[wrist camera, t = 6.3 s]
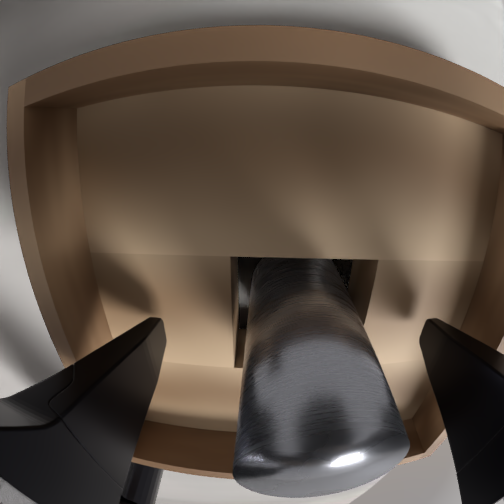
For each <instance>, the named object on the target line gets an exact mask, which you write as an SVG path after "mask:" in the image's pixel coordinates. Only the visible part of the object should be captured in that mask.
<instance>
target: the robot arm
mask: <svg viewBox="0 0 504 504" xmlns="http://www.w3.org/2000/svg"><path fill="white" fill-rule="evenodd" d="M166 343H167V338H166V333H165V328H164V322H163V320H162V319H161V318H158V317H149V318H147V319H146V320H144V321H142V322H141V323H139V324H137V325H136V326H134V327H132V328H131V329H129V330H128V331H126V332H124V333H123V334H121V335H119V336H118V337H116V338H114V339H113V340H111V341H109V342H108V343H106V344H105V345H103V346H101V347H100V348H98V349H96V350H95V351H93V352H91V353H90V354H88V355H86V356H85V357H83V358H82V359H80V360H78V361H77V362H75V363H74V365H73V364H72V365H70V366H68V367H67V368H65V369H63V370H62V371H60V372H58V373H56V374H55V375H53V376H51V377H49V378H47V379H45V380H43V381H41V382H39V383H37V384H35V385H33V386H31V387H29V388H27V389H25V390H23V391H21V392H18V393H16V394H14V395H12V396H10V397H6V398H1V399H0V504H155V501H156V497H157V493H158V489H159V485H160V482H161V478H162V474H163V470H164V469H159V468H154V467H150V466H146V465H142V464H138V463H134V462H131V461H132V458H133V454H134V451H135V448H136V445H137V442H138V439H139V436H140V433H141V430H142V427H143V424H144V421H145V418H146V415H147V412H148V409H149V406H150V403H151V400H152V397H153V394H154V391H155V389H156V385H157V382H158V379H159V374H160V370H161V365H162V361H163V356H164V352H165V348H166ZM419 345H420V348H421V352H422V355H423V359H424V363H425V366H426V370H427V374H428V377H429V380H430V383H431V386H432V389H433V392H434V395H435V398H436V401H437V404H438V407H439V410H440V413H441V416H442V420H443V423H444V426H445V430H446V433H447V437H448V440H449V444H450V448H451V452H452V455H453V460H454V464H455V468H456V472H457V479H458V484H459V489H460V495H461V500H462V504H495V503H496V502H498V501H500V500H501V499H503V500H504V354H502V353H500V352H499V351H497V350H495V349H493V348H491V347H490V346H488V345H486V344H484V343H482V342H481V341H479V340H477V339H475V338H473V337H472V336H470V335H468V334H466V333H464V332H462V331H460V330H459V329H457V328H455V327H453V326H451V325H449V324H447V323H446V322H444V321H442V320H440V319H438V318H429V319H427V320H426V321H425V324H424V326H423V329H422V332H421V334H420V337H419Z"/></svg>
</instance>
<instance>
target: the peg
mask: <svg viewBox="0 0 504 504" xmlns="http://www.w3.org/2000/svg"><path fill="white" fill-rule="evenodd" d="M409 448H410V441H409V438H408V435H407V432H406V430H405V427H404V424H403V421H402V418H401V416H400V413H399V410H398V408H397V405H396V402H395V400H394V397H393V395H392V392H391V389H390V387H389V384H388V382H387V379H386V377H385V375H384V372H383V370H382V367H381V365H380V362H379V360H378V358H377V355H376V353H375V351H374V348H373V346H372V344H371V341H370V339H369V337H368V335H367V332H366V330H365V328H364V326H363V323H362V321H361V319H360V317H359V315H358V313H357V310H356V308H355V306H354V304H353V302H352V300H351V298H350V296H349V293H348V291H347V289H346V287H345V285H344V283H343V281H342V279H341V277H340V275H339V273H338V271H337V269H336V267H335V265H334V263H333V262H332V260H331V259H320V258H275V257H263V258H262V259H261V260H260V262H259V263H258V264H257V266H256V268H255V270H254V272H253V275H252V280H251V291H250V301H249V311H248V321H247V332H246V342H245V352H244V362H243V372H242V382H241V392H240V402H239V412H238V422H237V432H236V442H235V452H234V462H233V472H232V474H233V477H234V479H235V480H236V482H237V483H239V484H240V485H241V486H243V487H245V488H247V489H249V490H251V491H254V492H257V493H261V494H265V495H270V496H277V497H290V498H301V497H315V496H322V495H329V494H334V493H338V492H342V491H346V490H349V489H352V488H355V487H358V486H361V485H364V484H366V483H368V482H371V481H373V480H375V479H377V478H379V477H380V476H382V475H384V474H385V473H387V472H389V471H390V470H391V469H393V468H394V467H395V466H397V465H398V464H399V463H400V462H401V461H402V460H403V459H404V457H405V456H406V455H407V453H408V451H409Z"/></svg>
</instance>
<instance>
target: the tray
mask: <svg viewBox="0 0 504 504" xmlns="http://www.w3.org/2000/svg"><path fill="white" fill-rule="evenodd" d="M7 156H8V170H9V180H10V189H11V197H12V204H13V210H14V216H15V221H16V227H17V232H18V236H19V241H20V245H21V249H22V254H23V257H24V261H25V265H26V269H27V272H28V276H29V279H30V282H31V285H32V289H33V292H34V295H35V298H36V301H37V303H38V306H39V309H40V312H41V314H42V317H43V320H44V322H45V325H46V327H47V330H48V332H49V334H50V337H51V339H52V341H53V344H54V346H55V348H56V350H57V352H58V355H59V357H60V359H61V361H62V363H63V365H64V367H65V368H67V367H68V366H70V365H72V364H73V365H74V363H75V362H77V361H78V360H80V359H82V358H83V357H85V356H86V355H88V354H90V353H91V352H93V351H95V350H96V349H98V348H100V347H101V346H103V345H105V344H106V343H108V342H109V341H111V340H113V339H114V338H116V337H118V336H119V335H121V334H123V333H124V332H126V331H128V330H129V329H131V328H132V327H134V326H136V325H137V324H139V323H141V322H142V321H144V320H146V319H147V318H149V317H158V318H161V319H162V320H163V322H164V328H165V333H166V338H167V343H166V348H165V352H164V356H163V361H162V365H161V370H160V374H159V379H158V382H157V385H156V389H155V391H154V394H153V397H152V400H151V403H150V406H149V409H148V412H147V415H146V418H145V421H144V424H143V427H142V430H141V433H140V436H139V439H138V442H137V445H136V448H135V451H134V454H133V458H132V461H131V462H134V463H138V464H142V465H146V466H150V467H154V468H159V469H164V470H169V471H174V472H180V473H186V474H192V475H199V476H207V477H216V478H227V479H234V477H233V474H232V472H233V462H234V452H235V442H236V432H237V422H238V412H239V402H240V392H241V382H242V372H243V362H244V352H245V342H246V332H247V329H239V291H238V257H275V258H320V259H353V261H352V268H351V274H350V280H349V286H348V293H349V296H350V298H351V300H352V302H353V304H354V306H355V308H356V310H357V313H358V315H359V317H360V319H361V321H362V323H363V326H364V328H365V330H366V332H367V335H368V337H369V339H370V341H371V344H372V346H373V348H374V351H375V353H376V355H377V358H378V360H379V362H380V365H381V367H382V370H383V372H384V375H385V377H386V379H387V382H388V384H389V387H390V389H391V392H392V395H393V397H394V400H395V402H396V405H397V408H398V410H399V413H400V416H401V418H402V421H403V424H404V427H405V430H406V432H407V435H408V438H409V441H410V448H409V451H408V453H407V455H406V456H405V457H404V459H403V460H402V461H401V462H400V463H399V464H398V465H401V464H404V463H408V462H412V461H415V460H419V459H422V458H425V457H429V456H430V455H431V454H432V453H433V452H434V451H435V450H436V449H437V448H438V447H439V446H440V445H441V443H442V442H443V441H444V440H445V439H446V438H447V433H446V430H445V426H444V423H443V420H442V416H441V413H440V410H439V407H438V404H437V401H436V398H435V395H434V392H433V389H432V386H431V383H430V380H429V377H428V374H427V370H426V366H425V363H424V359H423V355H422V352H421V348H420V345H419V337H420V334H421V332H422V329H423V326H424V324H425V321H426V320H427V319H429V318H438V319H440V320H442V321H444V322H446V323H447V324H449V325H451V326H453V327H455V328H457V329H459V330H460V331H462V332H464V333H466V334H468V335H470V336H472V337H473V338H475V339H477V340H479V341H481V342H482V343H484V344H486V345H488V346H490V347H491V348H493V349H495V350H497V351H499V352H500V353H502V354H504V87H503V86H501V85H499V84H497V83H495V82H493V81H492V80H490V79H488V78H486V77H484V76H482V75H480V74H477V73H475V72H473V71H471V70H469V69H467V68H464V67H462V66H460V65H457V64H455V63H452V62H450V61H447V60H445V59H442V58H440V57H437V56H434V55H431V54H428V53H426V52H423V51H420V50H416V49H413V48H410V47H407V46H403V45H400V44H396V43H392V42H388V41H384V40H380V39H376V38H371V37H367V36H362V35H357V34H351V33H346V32H339V31H333V30H325V29H317V28H307V27H295V26H275V25H239V26H219V27H207V28H197V29H189V30H181V31H174V32H168V33H162V34H157V35H152V36H147V37H142V38H138V39H133V40H129V41H125V42H121V43H117V44H114V45H110V46H107V47H103V48H100V49H97V50H94V51H91V52H88V53H85V54H82V55H79V56H76V57H74V58H71V59H68V60H66V61H63V62H61V63H58V64H56V65H53V66H51V67H49V68H46V69H44V70H42V71H40V72H38V73H35V74H33V75H31V76H29V77H27V78H25V79H23V80H21V81H19V82H17V83H15V84H14V85H12V86H10V87H9V88H8V101H7Z"/></svg>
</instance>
